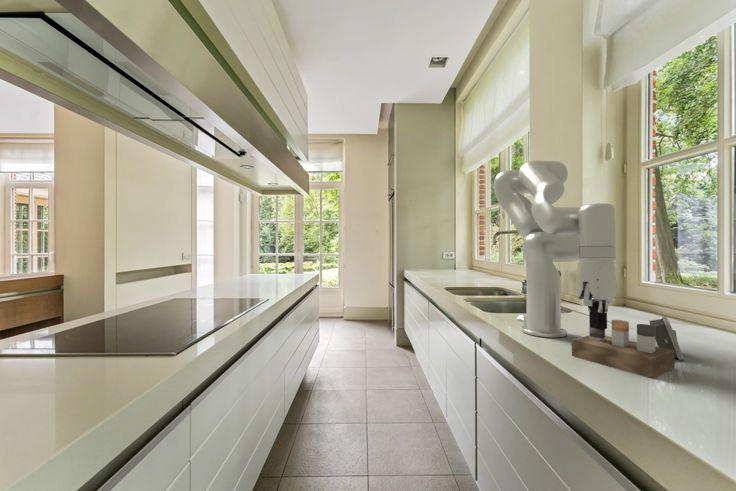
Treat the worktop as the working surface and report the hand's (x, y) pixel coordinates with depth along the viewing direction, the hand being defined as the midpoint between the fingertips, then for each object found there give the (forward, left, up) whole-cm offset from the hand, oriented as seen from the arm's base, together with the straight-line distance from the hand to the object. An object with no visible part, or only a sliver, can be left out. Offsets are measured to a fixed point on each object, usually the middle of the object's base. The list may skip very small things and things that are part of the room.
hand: (598, 328), depth 82 cm
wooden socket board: (+5, 0, -7) cm, 8 cm away
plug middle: (+5, 0, -3) cm, 6 cm away
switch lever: (0, 0, -6) cm, 6 cm away
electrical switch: (+8, +16, -7) cm, 19 cm away
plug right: (+10, 0, -3) cm, 10 cm away
